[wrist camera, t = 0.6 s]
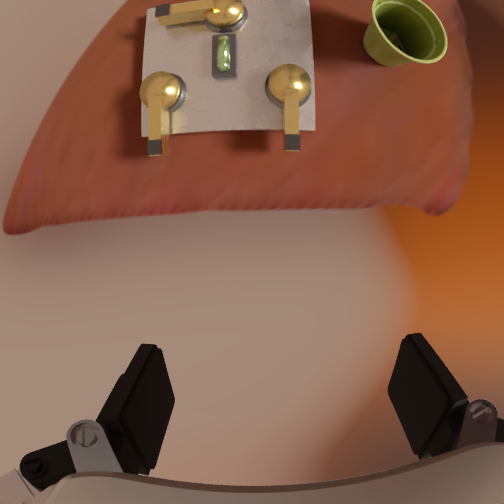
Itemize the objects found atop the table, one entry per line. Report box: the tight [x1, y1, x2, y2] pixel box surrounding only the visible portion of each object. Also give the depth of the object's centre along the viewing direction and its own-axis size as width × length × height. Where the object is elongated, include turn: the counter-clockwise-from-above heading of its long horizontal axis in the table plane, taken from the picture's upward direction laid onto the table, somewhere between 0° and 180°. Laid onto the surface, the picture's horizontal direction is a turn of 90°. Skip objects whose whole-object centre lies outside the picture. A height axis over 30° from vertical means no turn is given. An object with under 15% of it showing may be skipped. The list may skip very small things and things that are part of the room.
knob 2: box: [268, 64, 311, 152], centre depth 27 cm, size 10×4×3 cm, turn 1°
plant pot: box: [363, 0, 447, 67], centre depth 24 cm, size 9×9×9 cm
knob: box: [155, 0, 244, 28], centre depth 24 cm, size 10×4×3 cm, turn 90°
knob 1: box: [139, 71, 182, 156], centre depth 28 cm, size 10×4×3 cm, turn 1°
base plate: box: [141, 0, 315, 138], centre depth 28 cm, size 18×20×4 cm
